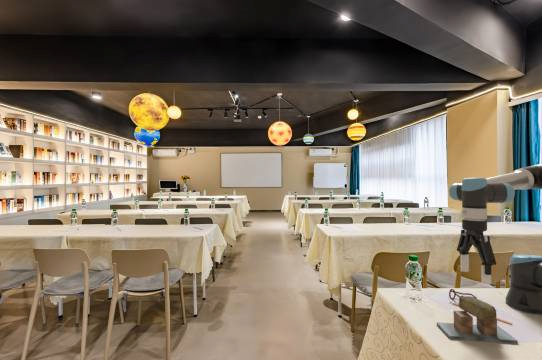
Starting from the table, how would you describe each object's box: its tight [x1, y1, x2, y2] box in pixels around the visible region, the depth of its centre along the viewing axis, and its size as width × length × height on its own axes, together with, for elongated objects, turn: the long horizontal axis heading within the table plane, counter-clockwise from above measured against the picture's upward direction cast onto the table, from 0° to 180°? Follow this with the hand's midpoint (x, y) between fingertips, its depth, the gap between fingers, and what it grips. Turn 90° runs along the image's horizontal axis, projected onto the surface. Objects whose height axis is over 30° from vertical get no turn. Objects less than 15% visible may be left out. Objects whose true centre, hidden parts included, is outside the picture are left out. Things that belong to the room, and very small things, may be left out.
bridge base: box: [436, 310, 519, 344], centre depth 104 cm, size 22×10×7 cm, turn 83°
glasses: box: [448, 288, 491, 305], centre depth 132 cm, size 13×13×5 cm
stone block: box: [458, 295, 497, 321], centre depth 104 cm, size 6×12×5 cm, turn 9°
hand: (474, 277), depth 105 cm, fingers open, 13 cm apart
